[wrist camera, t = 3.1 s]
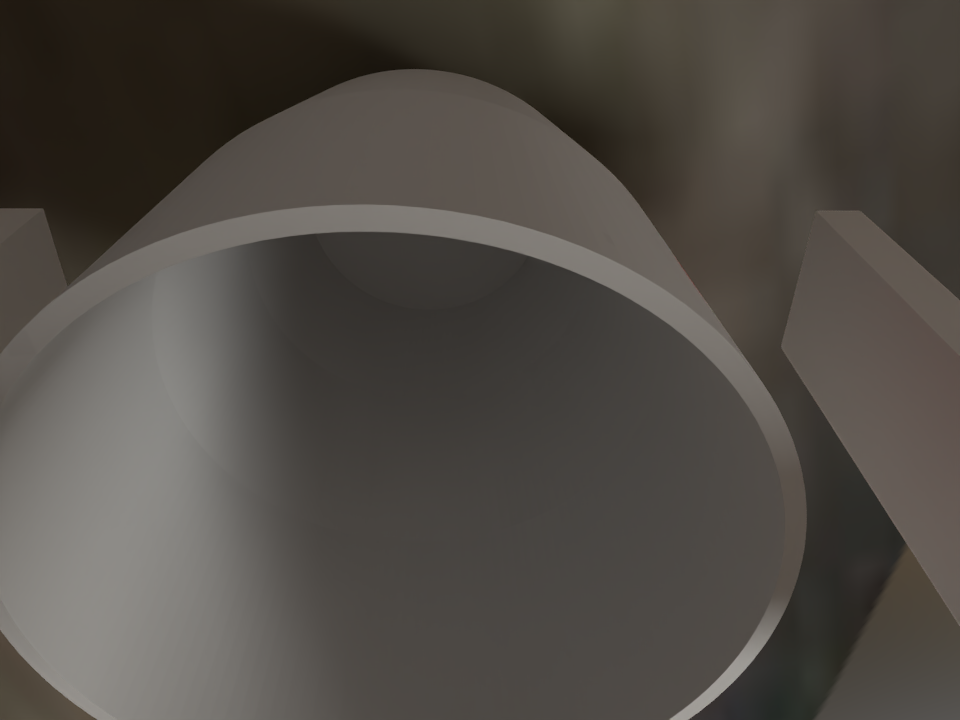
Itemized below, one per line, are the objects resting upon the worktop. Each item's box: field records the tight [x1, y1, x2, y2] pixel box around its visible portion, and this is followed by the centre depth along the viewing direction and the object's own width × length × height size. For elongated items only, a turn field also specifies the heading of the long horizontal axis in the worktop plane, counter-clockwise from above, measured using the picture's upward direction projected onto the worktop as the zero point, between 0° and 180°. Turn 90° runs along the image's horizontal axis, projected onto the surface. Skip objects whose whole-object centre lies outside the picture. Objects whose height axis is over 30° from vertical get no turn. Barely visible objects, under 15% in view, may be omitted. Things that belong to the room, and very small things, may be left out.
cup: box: [0, 69, 807, 720], centre depth 12 cm, size 8×8×10 cm
